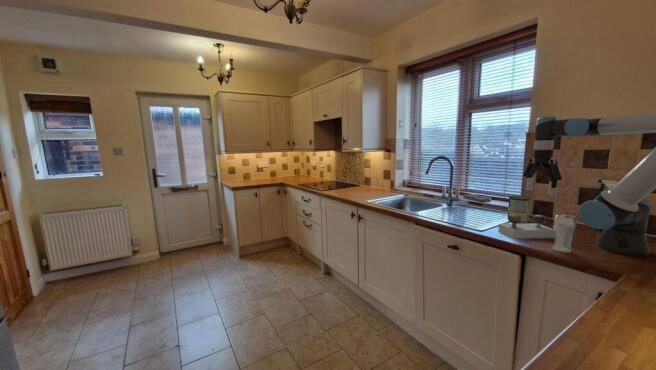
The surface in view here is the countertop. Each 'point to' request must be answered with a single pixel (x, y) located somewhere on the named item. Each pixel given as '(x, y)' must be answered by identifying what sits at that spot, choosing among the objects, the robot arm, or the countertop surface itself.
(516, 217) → the knob walnut
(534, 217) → the knob black
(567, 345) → the countertop surface
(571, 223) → the beer glass
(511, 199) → the coffee can
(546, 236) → the knob mount
